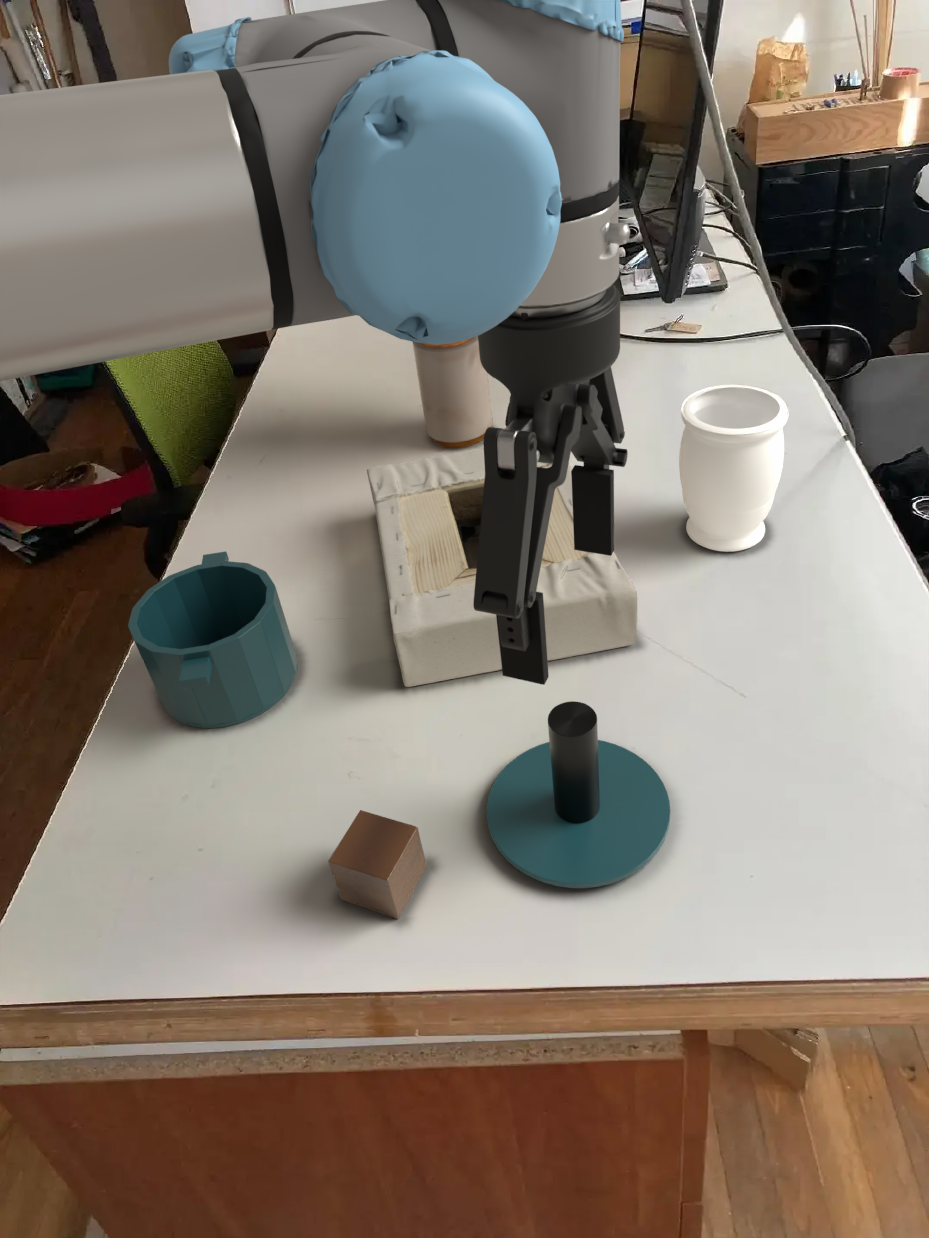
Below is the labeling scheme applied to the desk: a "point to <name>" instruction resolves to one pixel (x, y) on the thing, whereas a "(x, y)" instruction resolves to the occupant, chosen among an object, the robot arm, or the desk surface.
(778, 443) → the jar
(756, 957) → the desk surface
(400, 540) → the box
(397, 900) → the block
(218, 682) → the pot
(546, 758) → the lid
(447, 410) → the lamp
